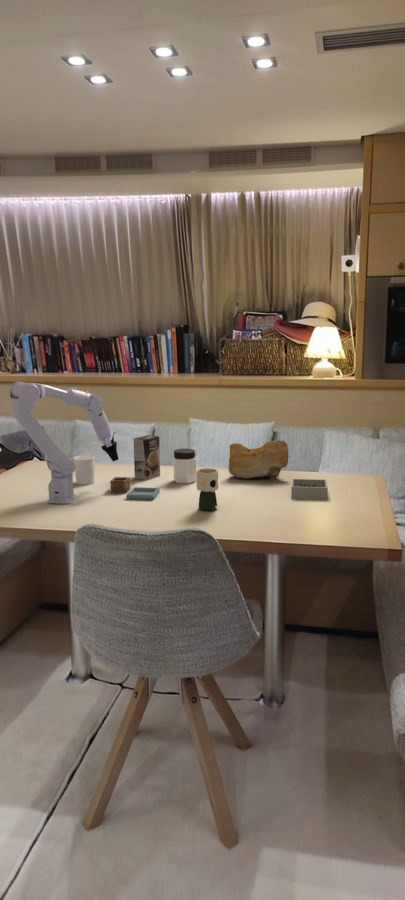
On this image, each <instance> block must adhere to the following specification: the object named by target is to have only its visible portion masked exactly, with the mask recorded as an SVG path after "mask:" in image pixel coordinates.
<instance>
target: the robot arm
mask: <svg viewBox="0 0 405 900" xmlns="http://www.w3.org/2000/svg"><path fill="white" fill-rule="evenodd" d="M45 396H46V397H51V398H56V399H59V400H62V401H63V402H64V404H66V405H69V406H72V407H77V408H81V409H83V410H86V411H85V412H86V413H87V415H88V418H89V420H90V423H91V424H92V427H93V430H94V432H95V434H96V437H97V440H98V441H99V442H101V443H103V445H102V446H101V447H100V448H101V450H102V451H104V452H105V453H106V454H107V455H108V456H109V458H110V459H111V461H112V462H115V461H118V460H119V455H118V454H119V453H118V450H117V444H118V443H117V441H115V440H114V436H115V435H116V434H117V430H115V429H114V430H113V429H112V426H111V425H110V422H109V420H108V417H107V414H106V412H105V410H104V407H103V405H104V399H103V398H101V396H100V395H99V394H96V393H90V391H89V390H84V391H83V390H79V389H78V387H75V386H74V387H73V386H72V387H69V388H66V389H65V390H64V389H62V388H59V387H58V388H57V387H54V386H51V385H47V384H44V383H43V384H42V383H37V382H36V383H35V382H24V381H15V382H13V384H12V385H11V386H10V389H9V394H8V397H9V399H10V402H11V407H12V413H13V417H14V418H15V419H16V421H17V422H18V423H19V425H20V427H22V429H23V430H24V431H25V432H26V434H27V435H28V436H29V437H30V439H31V440H32V441H33V442H34V444H35V445H36V447H37V448H38V449H39V450H40V452H42V454H43V456H44V457H43V459H44V460H45V461H46V465H47V468H48V470H49V471H50V474H51V475H50V479H51V480H50V481H49V483H48V487H47V488H48V489H47V490H48V498H49V499H48V500H47V501H46V504H63V505H64V504H65V505H67V504H70V503H72V502H73V501H74V500H75V499H76V498H78V496H79V495H78V494H74V480H73V479H74V478H73V476H74V472H75V467H76V464H75V461H74V458H72V457H69V456H68V454H66V453H65V452H64V451H63V450H61V449H60V448H59V447H58V446H57V445H56V443H55V442H54V441H53V439H52V437H51V436H50V435H49V434H48V433H47V431H46V430H45V429H44V428H43V426H42V425H41V424H40V422H39V421H38V419H37V418H36V417H35V415H33V410H34V408H35V406H36V405H37V402H38V401H39V399H42V398H44V397H45Z"/></svg>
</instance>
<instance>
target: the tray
mask: <svg viewBox="0 0 405 900" xmlns="http://www.w3.org/2000/svg"><path fill="white" fill-rule="evenodd" d="M160 493H161V491H160V487H147V486H146V487H143V486H142V487H138V486H136V487H135V486H133V487H131V489H130V490H129V491H128V492H127V493H125V494H126V500H133V501H136V500H137V501H139V500H140V501H154V500H155V499H156V498H157V497H158V496H159V494H160Z"/></svg>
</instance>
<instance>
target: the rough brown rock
mask: <svg viewBox="0 0 405 900" xmlns="http://www.w3.org/2000/svg"><path fill="white" fill-rule="evenodd" d="M289 457H290V456H289V446H288V444H287V442H286V441H285V440H269V441H266V442H265V443H264V444H263V445H261V446H259V447H256V448H248V447H247V446H245V445H243V444H242V443H238V442H237V443H231V444H230V445H229V459H228V472H229V475H231V476H234V477H235V478H240V479H251V478H263V477H267V478H269V479H272V478H276V479H277V478H279V476H280V472H281V471H282V469H283V468H286V467H287V465H289Z"/></svg>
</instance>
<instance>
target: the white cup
mask: <svg viewBox="0 0 405 900" xmlns="http://www.w3.org/2000/svg"><path fill="white" fill-rule="evenodd" d="M73 460H74V461H75V464H76V467H75V470H74V472H75V473H74V475H75V481H76V484H77V485H81V486H82V485H83V486H86V485H92V484H94V483H95V456H94V455H88V454H87V455H85V454H84V455H83V454H82V455H78V456H74V457H73Z"/></svg>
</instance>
